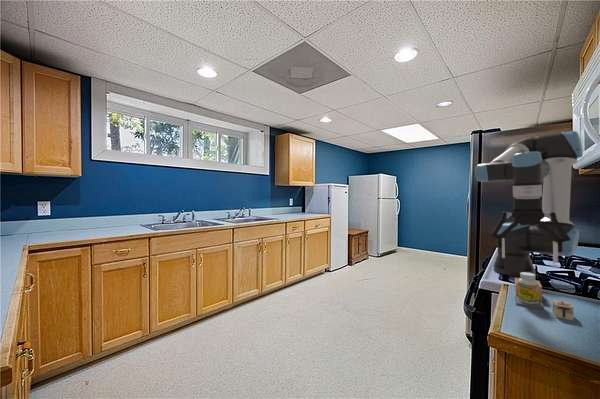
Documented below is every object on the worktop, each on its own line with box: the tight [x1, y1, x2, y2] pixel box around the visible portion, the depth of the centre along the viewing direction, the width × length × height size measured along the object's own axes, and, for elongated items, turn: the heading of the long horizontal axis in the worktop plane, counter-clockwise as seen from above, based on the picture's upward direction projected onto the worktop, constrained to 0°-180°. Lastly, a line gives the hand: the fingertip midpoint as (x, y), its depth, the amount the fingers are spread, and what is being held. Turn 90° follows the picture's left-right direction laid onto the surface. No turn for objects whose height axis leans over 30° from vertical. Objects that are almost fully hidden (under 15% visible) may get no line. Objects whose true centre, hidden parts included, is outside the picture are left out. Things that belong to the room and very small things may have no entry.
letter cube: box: [552, 299, 574, 321], centre depth 81 cm, size 4×4×4 cm
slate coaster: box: [514, 295, 545, 310], centre depth 91 cm, size 7×7×1 cm
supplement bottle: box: [518, 272, 539, 304], centre depth 91 cm, size 5×5×10 cm
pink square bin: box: [514, 277, 543, 302], centre depth 97 cm, size 7×7×5 cm
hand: (528, 259), depth 90 cm, fingers open, 13 cm apart
